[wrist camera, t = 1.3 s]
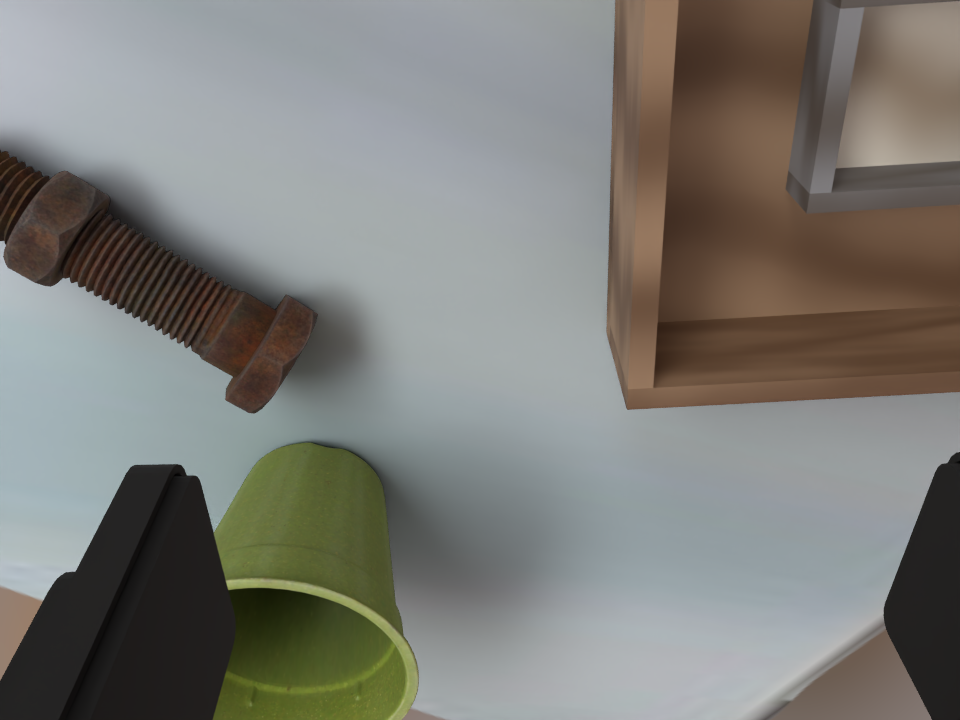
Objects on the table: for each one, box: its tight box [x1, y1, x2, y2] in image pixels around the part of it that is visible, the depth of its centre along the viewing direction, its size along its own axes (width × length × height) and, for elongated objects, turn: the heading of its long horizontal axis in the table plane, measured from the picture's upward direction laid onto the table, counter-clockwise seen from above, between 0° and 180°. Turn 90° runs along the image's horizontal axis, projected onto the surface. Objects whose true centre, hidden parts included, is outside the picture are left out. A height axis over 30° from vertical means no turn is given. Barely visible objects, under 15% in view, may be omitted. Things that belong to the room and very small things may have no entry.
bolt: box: [0, 151, 318, 413], centre depth 34 cm, size 6×5×15 cm
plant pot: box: [213, 443, 419, 720], centre depth 39 cm, size 12×12×11 cm
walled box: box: [607, 0, 960, 410], centre depth 30 cm, size 22×22×6 cm
